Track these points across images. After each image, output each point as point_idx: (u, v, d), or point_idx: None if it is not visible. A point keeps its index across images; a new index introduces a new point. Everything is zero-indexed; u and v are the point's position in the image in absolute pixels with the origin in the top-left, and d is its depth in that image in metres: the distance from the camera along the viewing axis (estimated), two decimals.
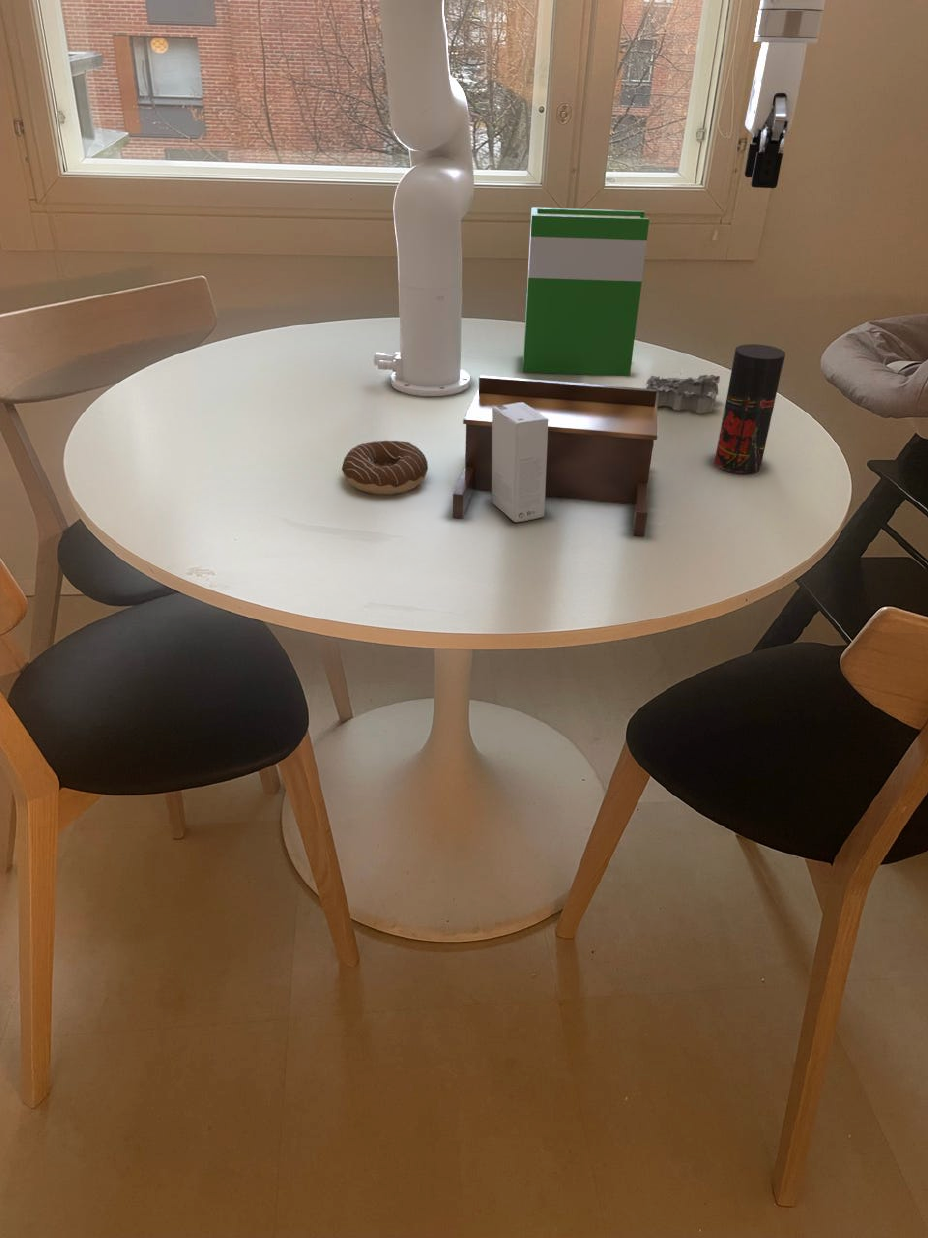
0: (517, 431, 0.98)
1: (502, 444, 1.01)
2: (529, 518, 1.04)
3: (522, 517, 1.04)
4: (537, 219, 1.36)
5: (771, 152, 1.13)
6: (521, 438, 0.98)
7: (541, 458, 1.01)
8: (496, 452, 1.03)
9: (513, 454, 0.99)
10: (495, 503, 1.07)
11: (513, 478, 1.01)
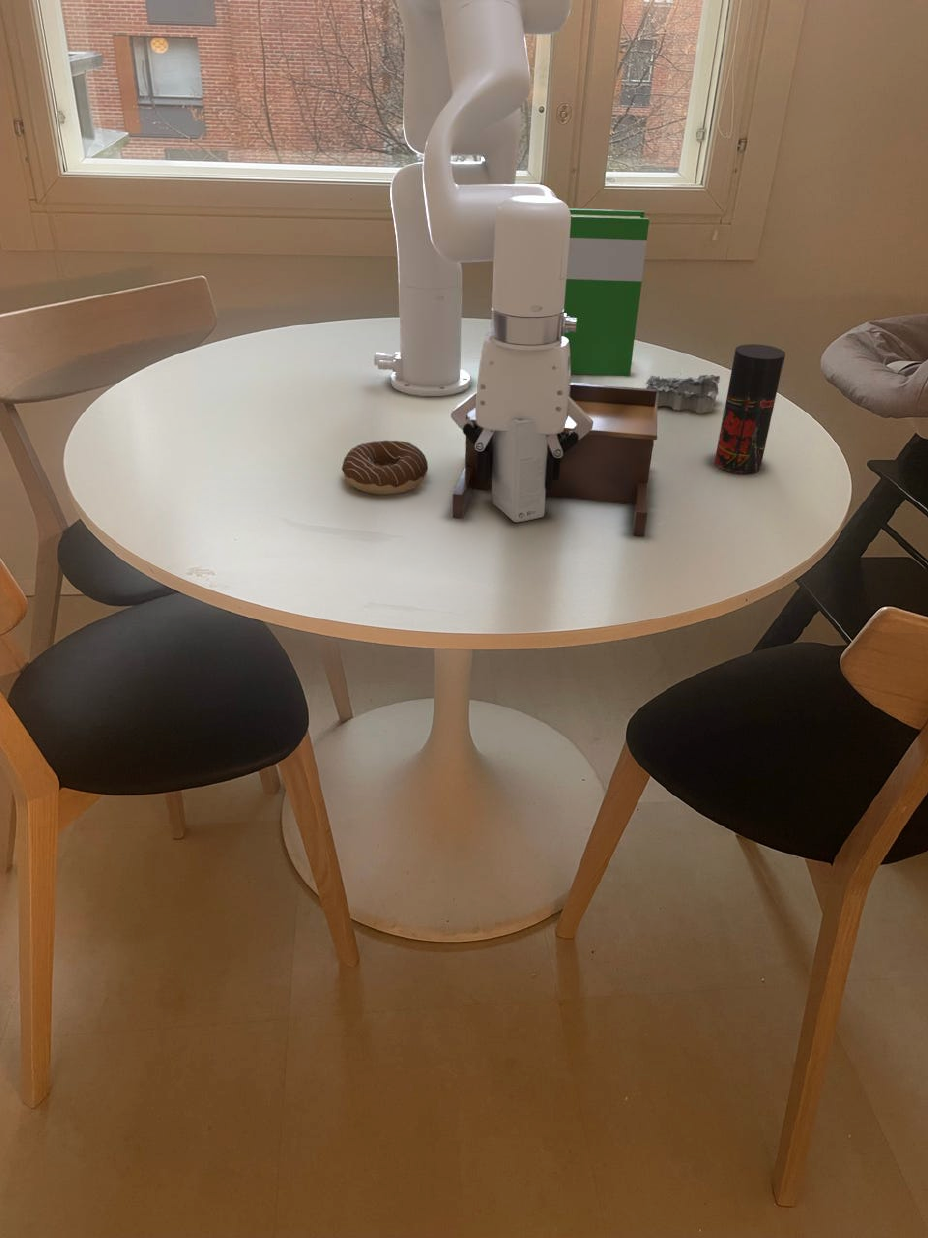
0: (518, 431, 0.98)
1: (502, 444, 1.01)
2: (529, 518, 1.04)
3: (522, 517, 1.04)
4: None
5: None
6: (522, 438, 0.98)
7: (541, 458, 1.01)
8: (496, 452, 1.03)
9: (514, 454, 0.99)
10: (495, 503, 1.07)
11: (513, 478, 1.01)
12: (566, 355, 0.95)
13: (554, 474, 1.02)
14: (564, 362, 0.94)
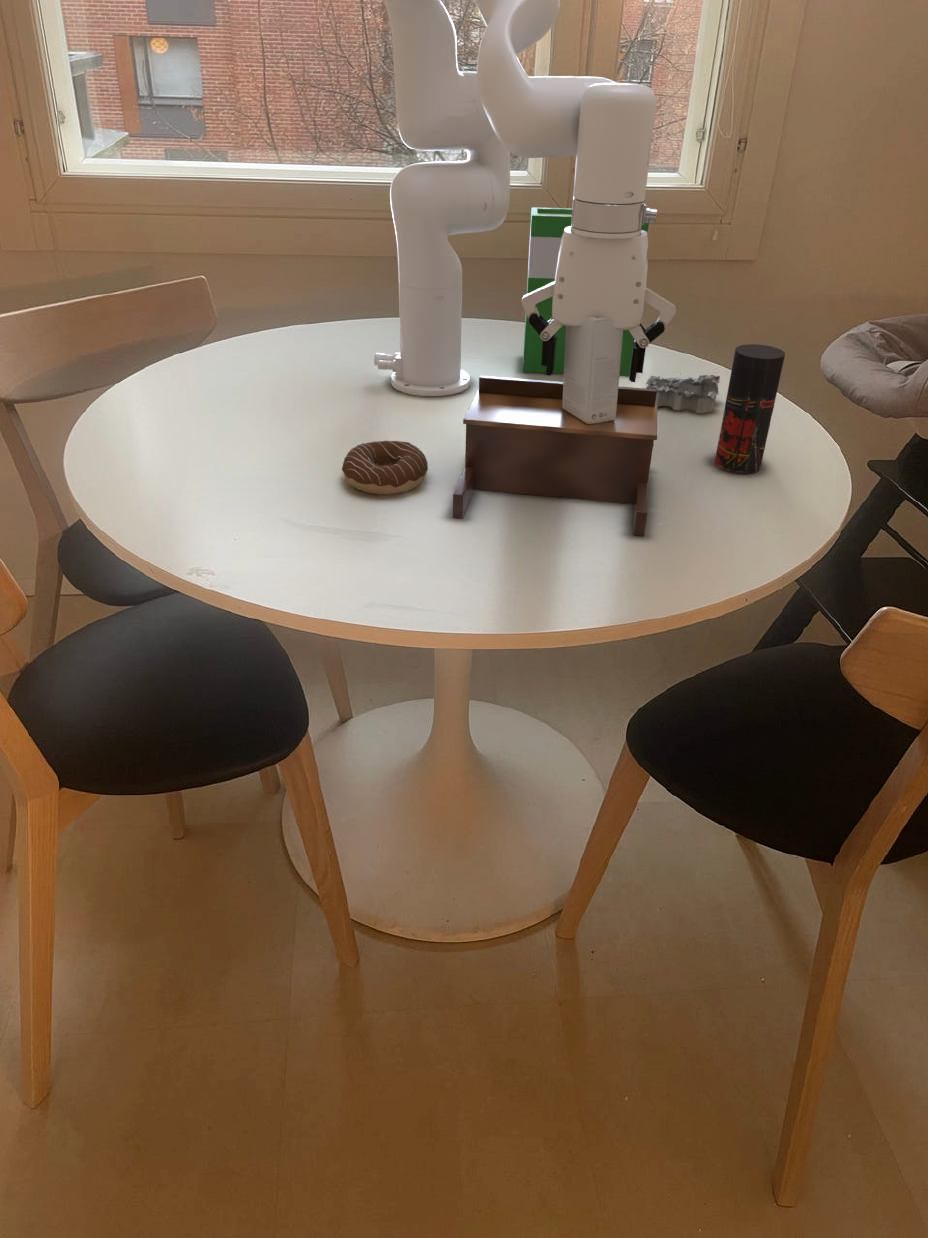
0: (594, 328, 0.99)
1: (577, 345, 1.03)
2: (601, 420, 1.06)
3: (594, 419, 1.05)
4: (537, 219, 1.36)
5: None
6: (598, 336, 1.00)
7: (615, 358, 1.02)
8: (569, 354, 1.05)
9: (589, 352, 1.01)
10: (566, 408, 1.09)
11: (587, 377, 1.03)
12: (645, 246, 0.96)
13: (638, 366, 1.03)
14: (643, 252, 0.96)
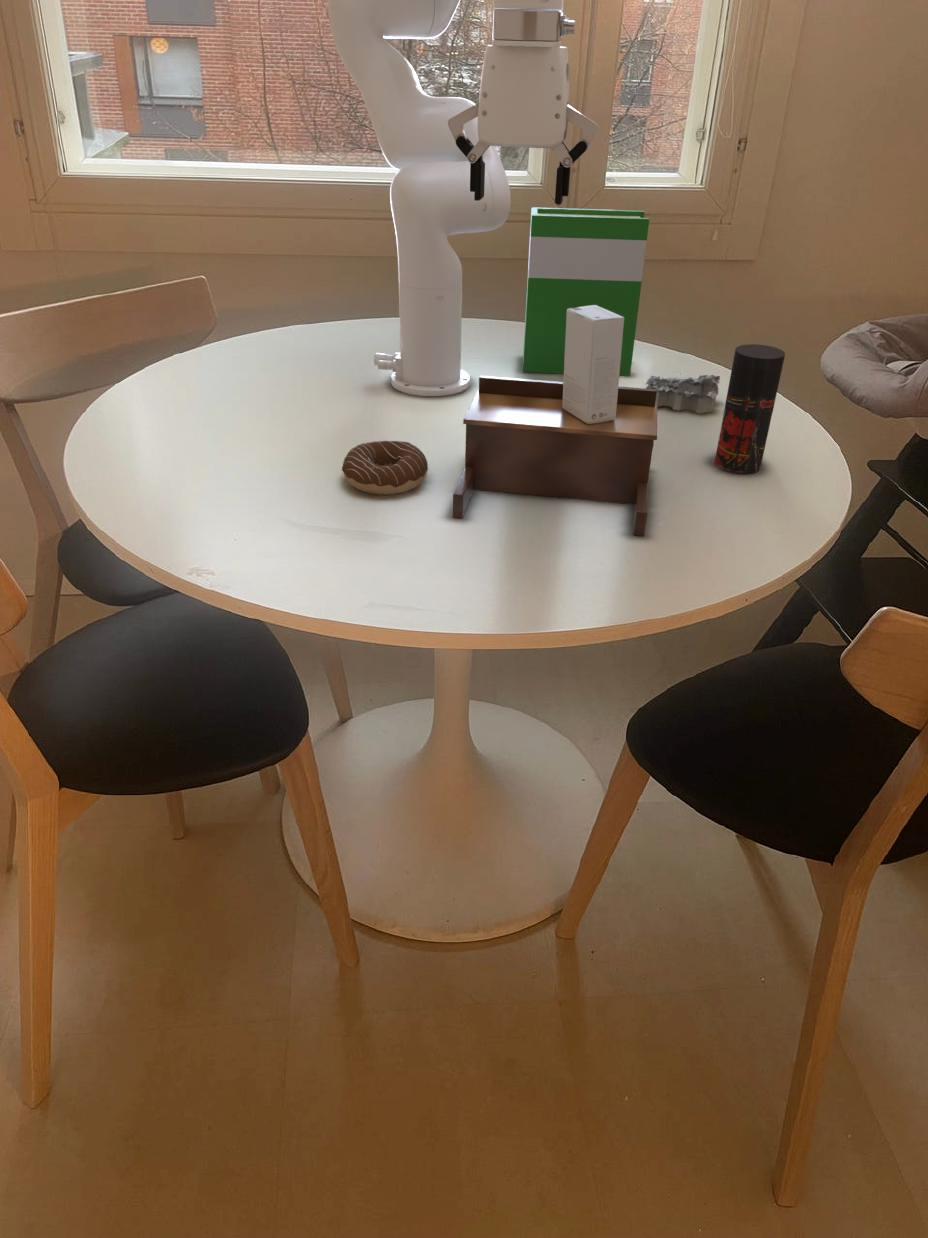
0: (594, 328, 0.99)
1: (577, 345, 1.03)
2: (601, 420, 1.06)
3: (594, 419, 1.05)
4: (537, 219, 1.36)
5: None
6: (598, 336, 1.00)
7: (615, 358, 1.02)
8: (569, 354, 1.05)
9: (589, 352, 1.01)
10: (566, 408, 1.09)
11: (587, 378, 1.03)
12: (565, 58, 0.99)
13: (563, 187, 1.06)
14: (562, 64, 0.98)
